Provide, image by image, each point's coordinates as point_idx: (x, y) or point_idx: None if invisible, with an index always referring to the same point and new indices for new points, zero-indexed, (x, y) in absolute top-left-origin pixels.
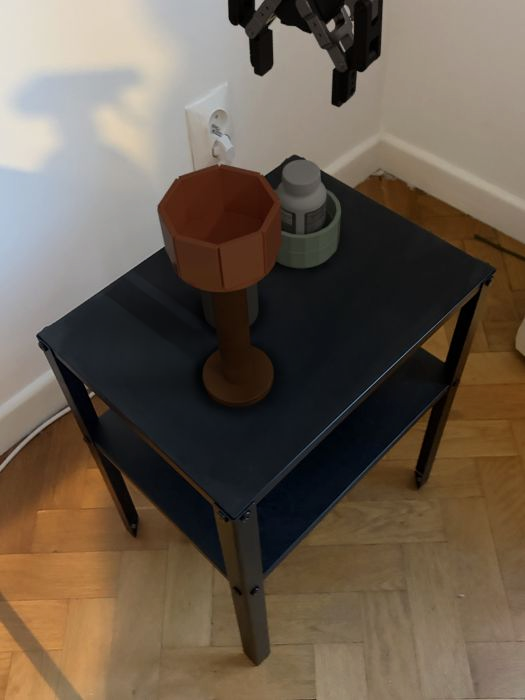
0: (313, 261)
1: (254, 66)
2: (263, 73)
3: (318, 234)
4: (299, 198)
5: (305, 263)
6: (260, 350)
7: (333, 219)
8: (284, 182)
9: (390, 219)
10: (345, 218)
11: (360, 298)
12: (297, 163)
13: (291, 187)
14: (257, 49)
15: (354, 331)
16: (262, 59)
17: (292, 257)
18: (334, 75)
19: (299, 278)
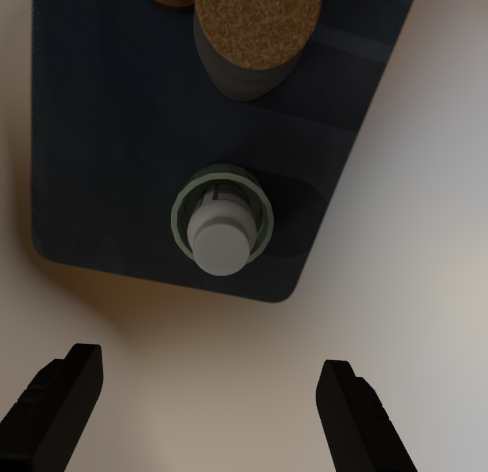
0: (189, 179)
1: (354, 378)
2: (325, 369)
3: (179, 194)
4: (211, 217)
5: (196, 172)
6: (168, 3)
7: None
8: (237, 225)
9: (156, 277)
10: None
11: (120, 160)
12: (235, 263)
13: (222, 220)
14: (365, 435)
15: (96, 109)
16: (340, 406)
17: (209, 167)
18: (33, 435)
19: (196, 155)
